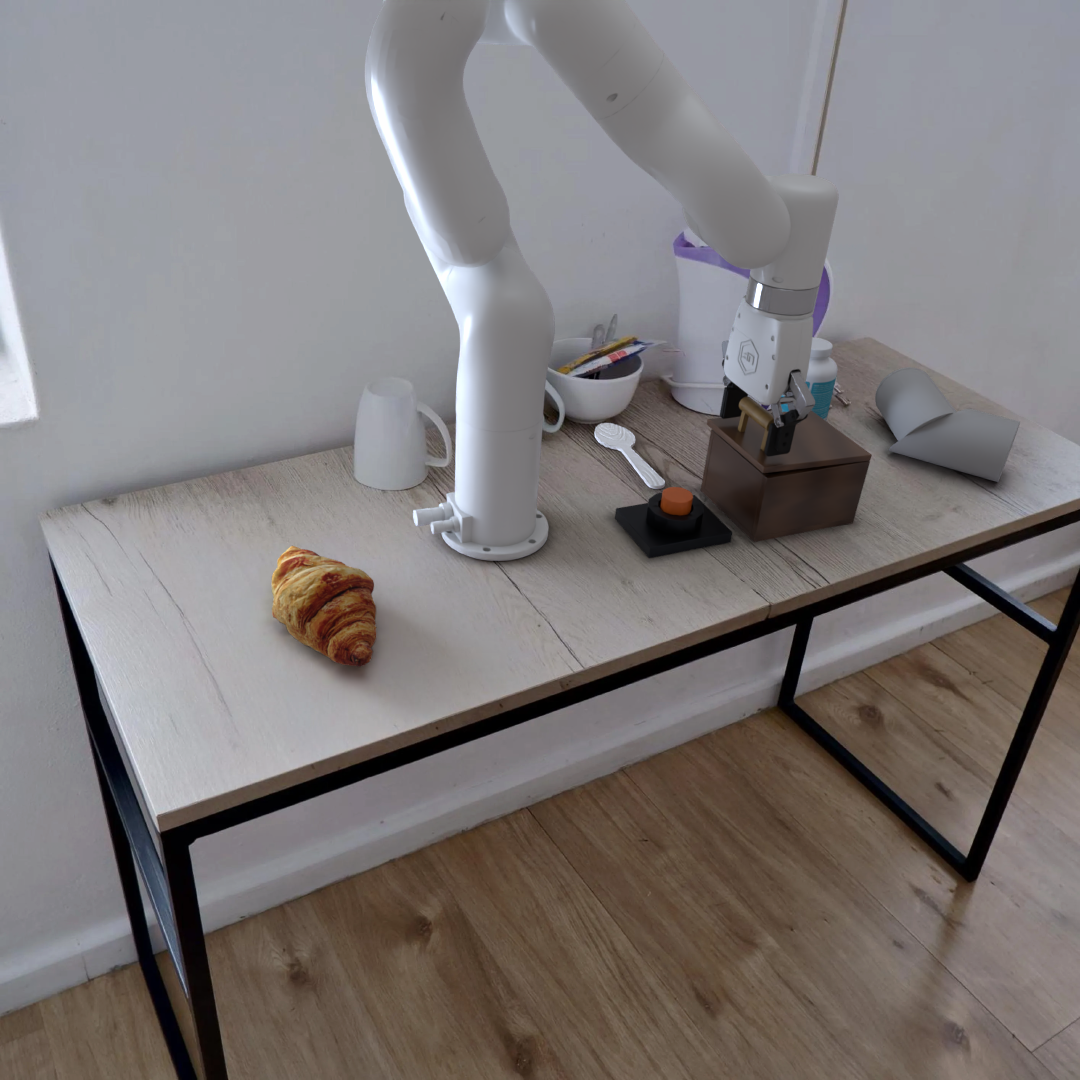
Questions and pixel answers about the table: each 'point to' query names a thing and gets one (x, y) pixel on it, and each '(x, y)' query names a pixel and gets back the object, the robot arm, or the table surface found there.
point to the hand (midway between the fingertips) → (753, 434)
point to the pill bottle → (820, 376)
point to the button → (676, 501)
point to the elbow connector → (942, 426)
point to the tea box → (780, 493)
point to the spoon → (627, 451)
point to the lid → (809, 444)
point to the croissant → (325, 605)
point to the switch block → (672, 527)
